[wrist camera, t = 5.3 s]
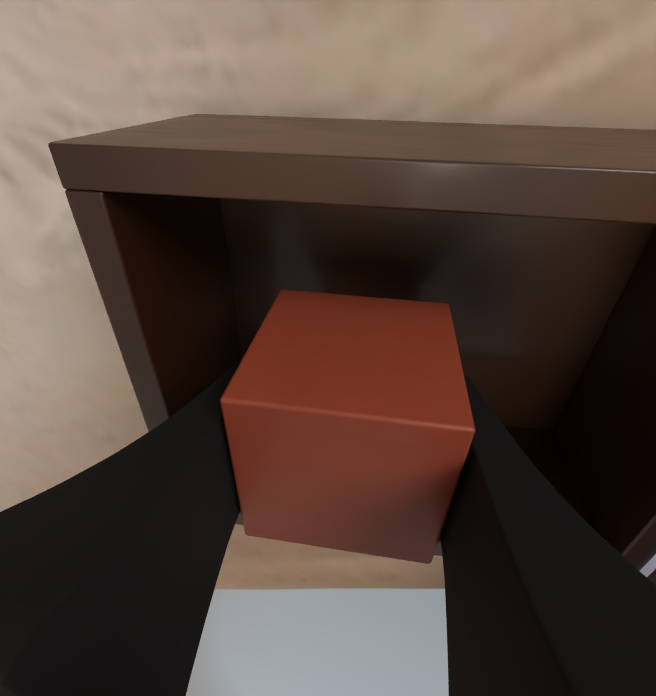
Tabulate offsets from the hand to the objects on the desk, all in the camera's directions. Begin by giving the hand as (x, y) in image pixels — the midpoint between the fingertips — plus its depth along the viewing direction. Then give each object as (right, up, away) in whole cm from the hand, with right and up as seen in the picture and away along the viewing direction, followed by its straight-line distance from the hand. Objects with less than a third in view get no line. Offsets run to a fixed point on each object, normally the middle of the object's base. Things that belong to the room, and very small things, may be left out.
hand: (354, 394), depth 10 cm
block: (0, +1, +1) cm, 1 cm away
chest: (+2, +3, +4) cm, 6 cm away
